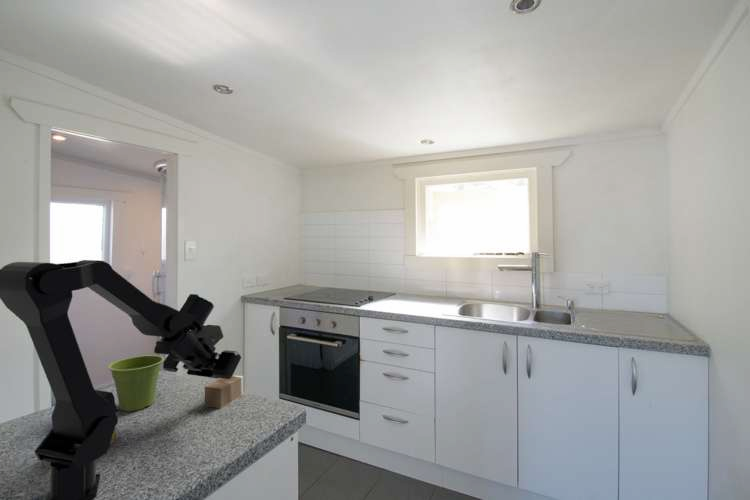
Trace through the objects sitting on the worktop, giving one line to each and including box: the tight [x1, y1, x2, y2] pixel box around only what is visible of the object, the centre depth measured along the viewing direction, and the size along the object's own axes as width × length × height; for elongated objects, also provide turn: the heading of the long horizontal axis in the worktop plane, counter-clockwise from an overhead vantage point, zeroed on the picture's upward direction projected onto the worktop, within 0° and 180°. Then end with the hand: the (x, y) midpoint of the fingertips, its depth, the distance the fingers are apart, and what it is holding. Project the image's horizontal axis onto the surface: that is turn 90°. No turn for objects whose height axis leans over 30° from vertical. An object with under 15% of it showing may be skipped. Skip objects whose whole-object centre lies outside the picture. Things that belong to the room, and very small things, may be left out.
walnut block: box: [204, 374, 244, 409], centre depth 94 cm, size 5×5×9 cm
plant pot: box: [107, 354, 165, 412], centre depth 89 cm, size 12×12×11 cm
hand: (218, 376), depth 91 cm, fingers closed
